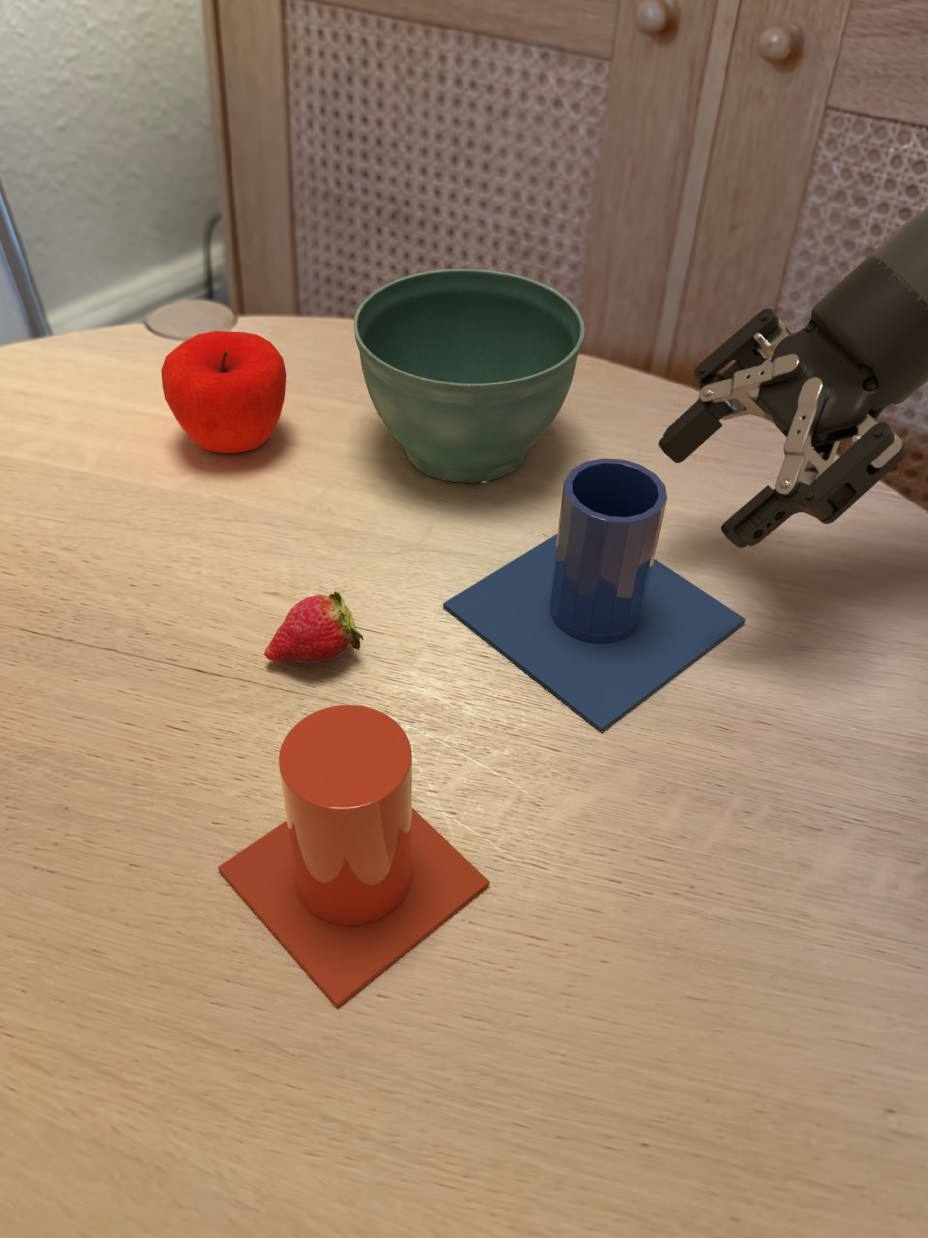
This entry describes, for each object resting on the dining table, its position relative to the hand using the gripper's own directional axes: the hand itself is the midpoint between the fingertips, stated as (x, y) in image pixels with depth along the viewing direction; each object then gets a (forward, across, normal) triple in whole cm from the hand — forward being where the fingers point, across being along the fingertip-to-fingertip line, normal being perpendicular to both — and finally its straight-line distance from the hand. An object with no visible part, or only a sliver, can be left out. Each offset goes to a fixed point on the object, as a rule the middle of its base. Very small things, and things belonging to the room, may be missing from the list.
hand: (697, 495), depth 66 cm
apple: (+24, -25, -11) cm, 37 cm away
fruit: (+23, -1, -11) cm, 26 cm away
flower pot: (+12, -20, 0) cm, 23 cm away
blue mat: (+10, 0, +2) cm, 10 cm away
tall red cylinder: (+24, +15, -12) cm, 31 cm away
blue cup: (+10, 0, +2) cm, 10 cm away
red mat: (+24, +15, -12) cm, 31 cm away
